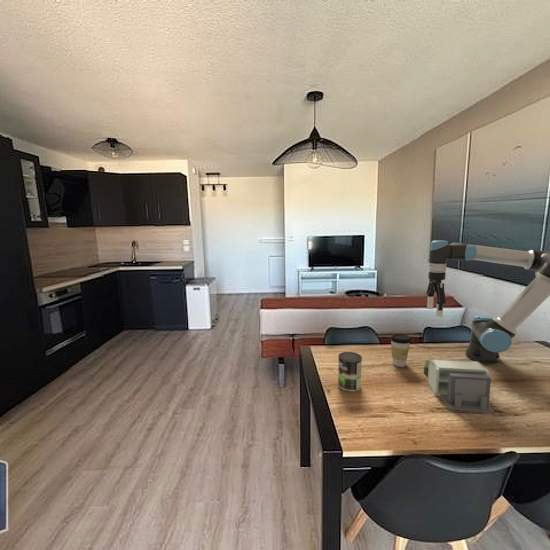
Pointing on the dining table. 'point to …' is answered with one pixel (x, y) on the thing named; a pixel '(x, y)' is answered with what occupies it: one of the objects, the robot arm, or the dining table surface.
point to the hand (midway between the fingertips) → (434, 312)
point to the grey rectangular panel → (468, 388)
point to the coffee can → (349, 371)
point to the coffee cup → (400, 348)
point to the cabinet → (440, 379)
